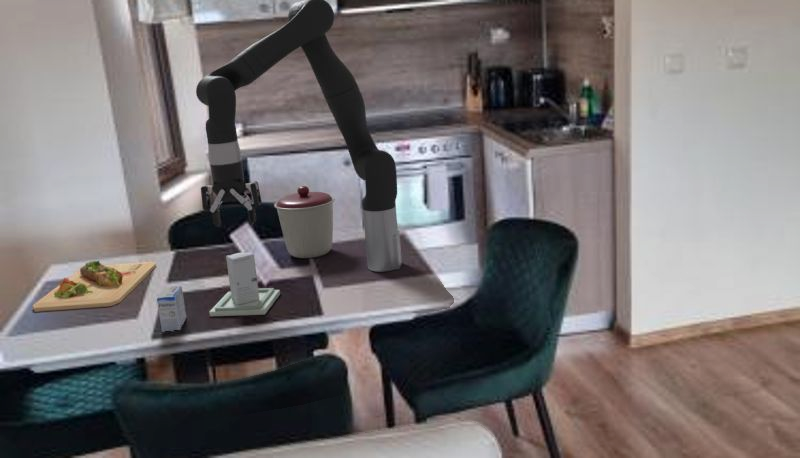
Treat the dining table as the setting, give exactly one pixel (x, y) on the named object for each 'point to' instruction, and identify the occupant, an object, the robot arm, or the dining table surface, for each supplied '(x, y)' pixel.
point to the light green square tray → (246, 304)
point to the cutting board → (95, 286)
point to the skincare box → (242, 277)
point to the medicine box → (171, 308)
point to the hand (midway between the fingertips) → (235, 225)
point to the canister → (306, 222)
